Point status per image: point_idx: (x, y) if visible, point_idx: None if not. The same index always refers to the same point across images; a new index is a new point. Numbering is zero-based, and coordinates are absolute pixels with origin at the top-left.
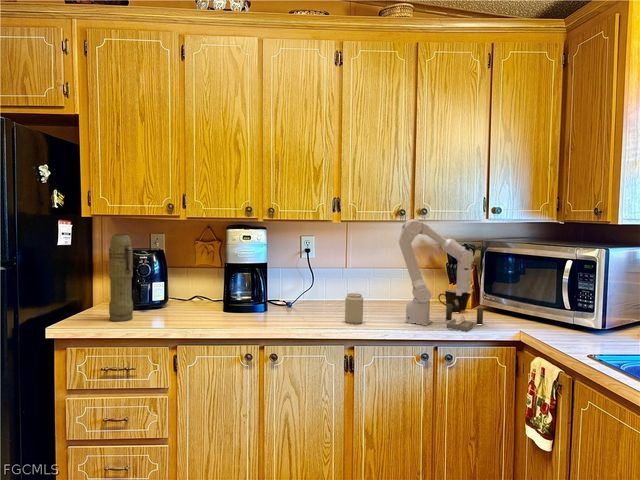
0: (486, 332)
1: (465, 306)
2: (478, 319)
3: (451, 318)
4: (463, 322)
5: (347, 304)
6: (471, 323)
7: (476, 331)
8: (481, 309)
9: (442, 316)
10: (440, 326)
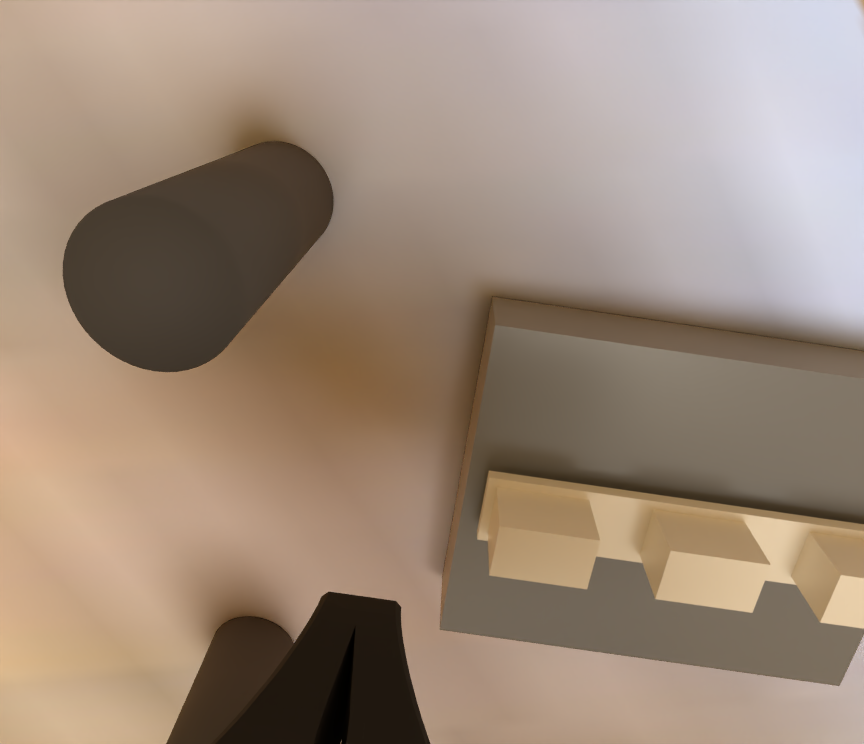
0: (839, 17)
1: (408, 669)
2: (308, 242)
3: (250, 642)
4: (627, 476)
5: None
6: (626, 342)
7: (822, 208)
8: (229, 241)
9: (78, 732)
10: (696, 700)
